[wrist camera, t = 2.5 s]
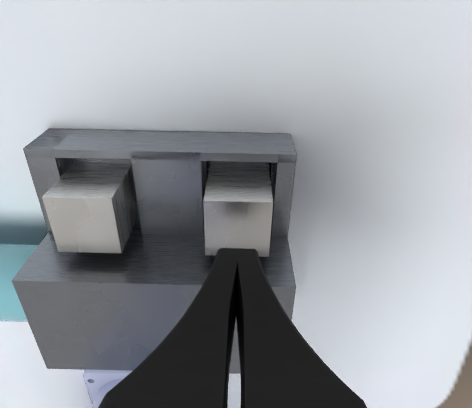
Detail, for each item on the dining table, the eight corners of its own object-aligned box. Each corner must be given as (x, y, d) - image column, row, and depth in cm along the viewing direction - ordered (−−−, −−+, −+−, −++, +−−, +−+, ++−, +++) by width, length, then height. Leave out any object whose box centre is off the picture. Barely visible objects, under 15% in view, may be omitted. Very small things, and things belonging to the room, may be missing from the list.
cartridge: (156, 230, 20) (137, 284, 17) (162, 286, 23) (147, 344, 19) (-75, 224, 20) (-143, 277, 17) (-46, 281, 23) (-100, 338, 19)
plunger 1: (141, 208, 19) (121, 253, 16) (88, 207, 19) (58, 251, 16) (134, 159, 18) (111, 198, 15) (77, 158, 18) (41, 197, 15)
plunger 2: (264, 211, 19) (268, 256, 16) (211, 210, 19) (205, 255, 16) (267, 162, 18) (273, 202, 15) (210, 161, 18) (203, 200, 15)
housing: (275, 289, 24) (283, 374, 19) (89, 284, 24) (47, 368, 19) (290, 133, 18) (308, 194, 13) (48, 128, 18) (-27, 187, 13)
